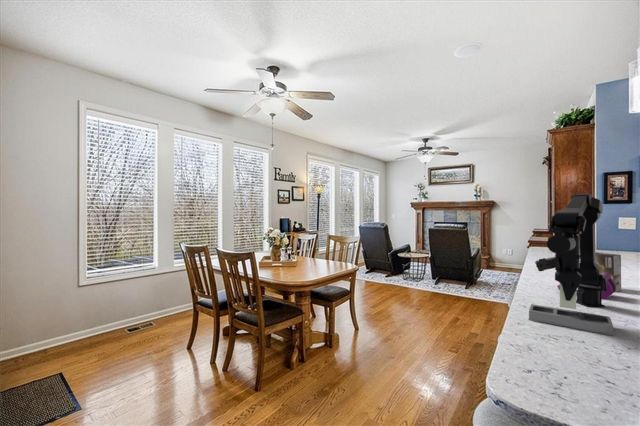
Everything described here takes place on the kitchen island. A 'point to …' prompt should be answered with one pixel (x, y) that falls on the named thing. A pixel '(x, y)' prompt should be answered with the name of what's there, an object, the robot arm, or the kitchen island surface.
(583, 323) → the slotted holder
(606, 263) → the coffee box
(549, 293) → the kitchen island surface
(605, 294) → the mounting bracket
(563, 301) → the peg
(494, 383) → the kitchen island surface
